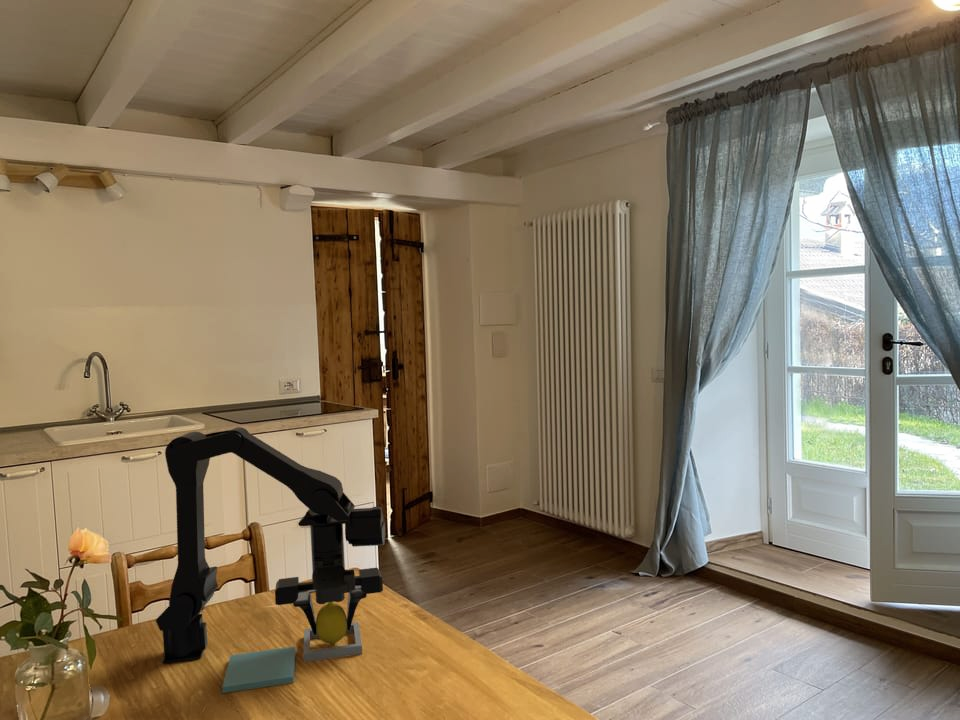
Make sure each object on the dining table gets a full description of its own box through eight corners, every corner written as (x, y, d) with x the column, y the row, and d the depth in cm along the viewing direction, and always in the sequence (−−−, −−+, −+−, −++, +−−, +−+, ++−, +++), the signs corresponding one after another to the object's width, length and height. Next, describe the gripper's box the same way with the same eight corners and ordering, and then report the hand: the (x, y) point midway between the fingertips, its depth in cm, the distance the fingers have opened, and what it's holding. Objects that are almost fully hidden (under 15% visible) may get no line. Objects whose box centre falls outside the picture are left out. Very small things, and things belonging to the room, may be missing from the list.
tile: (222, 693, 110) (222, 687, 110) (230, 660, 121) (230, 655, 121) (293, 682, 113) (293, 676, 113) (295, 651, 124) (295, 646, 124)
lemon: (321, 655, 122) (319, 611, 121) (313, 642, 127) (311, 600, 126) (351, 647, 124) (349, 604, 124) (343, 635, 129) (341, 593, 129)
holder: (303, 662, 120) (303, 653, 120) (304, 637, 129) (304, 629, 129) (362, 653, 122) (361, 645, 122) (358, 629, 132) (358, 621, 132)
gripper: (271, 568, 115) (276, 660, 115) (383, 555, 119) (388, 644, 120) (274, 547, 125) (279, 631, 126) (378, 536, 130) (381, 617, 131)
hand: (331, 631), depth 125 cm, fingers closed on lemon, 5 cm apart
